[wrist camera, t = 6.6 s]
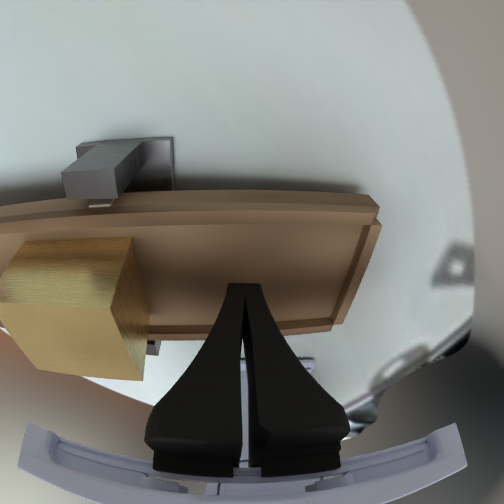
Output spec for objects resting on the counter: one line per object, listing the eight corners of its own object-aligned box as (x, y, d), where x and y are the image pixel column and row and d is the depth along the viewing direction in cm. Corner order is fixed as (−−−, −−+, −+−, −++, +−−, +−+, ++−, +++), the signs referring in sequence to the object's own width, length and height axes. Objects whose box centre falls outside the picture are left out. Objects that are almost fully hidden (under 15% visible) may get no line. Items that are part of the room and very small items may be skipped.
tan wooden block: (150, 314, 14) (143, 381, 11) (56, 311, 13) (37, 368, 10) (132, 236, 11) (109, 308, 8) (24, 240, 10) (-13, 300, 7)
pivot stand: (186, 308, 19) (179, 357, 16) (119, 303, 19) (104, 348, 16) (172, 136, 12) (147, 166, 9) (81, 143, 12) (37, 175, 9)
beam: (330, 309, 18) (339, 330, 16) (-1, 308, 14) (-10, 326, 13) (368, 193, 13) (386, 212, 11) (-48, 213, 9) (-63, 229, 8)
